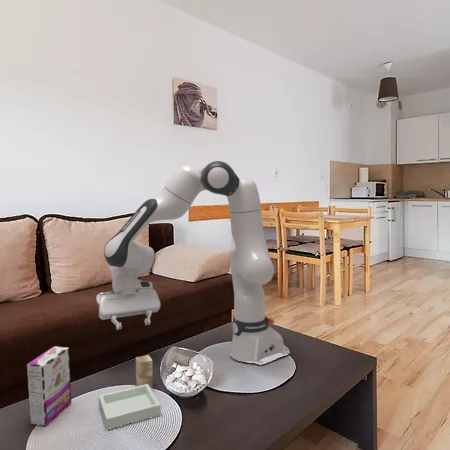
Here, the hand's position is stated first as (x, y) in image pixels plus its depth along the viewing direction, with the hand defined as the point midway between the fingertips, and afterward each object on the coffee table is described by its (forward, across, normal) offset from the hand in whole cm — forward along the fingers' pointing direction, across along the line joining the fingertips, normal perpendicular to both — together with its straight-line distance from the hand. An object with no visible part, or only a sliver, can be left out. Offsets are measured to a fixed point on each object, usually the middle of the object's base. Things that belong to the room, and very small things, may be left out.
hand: (133, 326), depth 126 cm
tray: (+26, -7, -5) cm, 27 cm away
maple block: (+19, 0, +2) cm, 19 cm away
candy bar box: (+21, -26, +1) cm, 33 cm away
